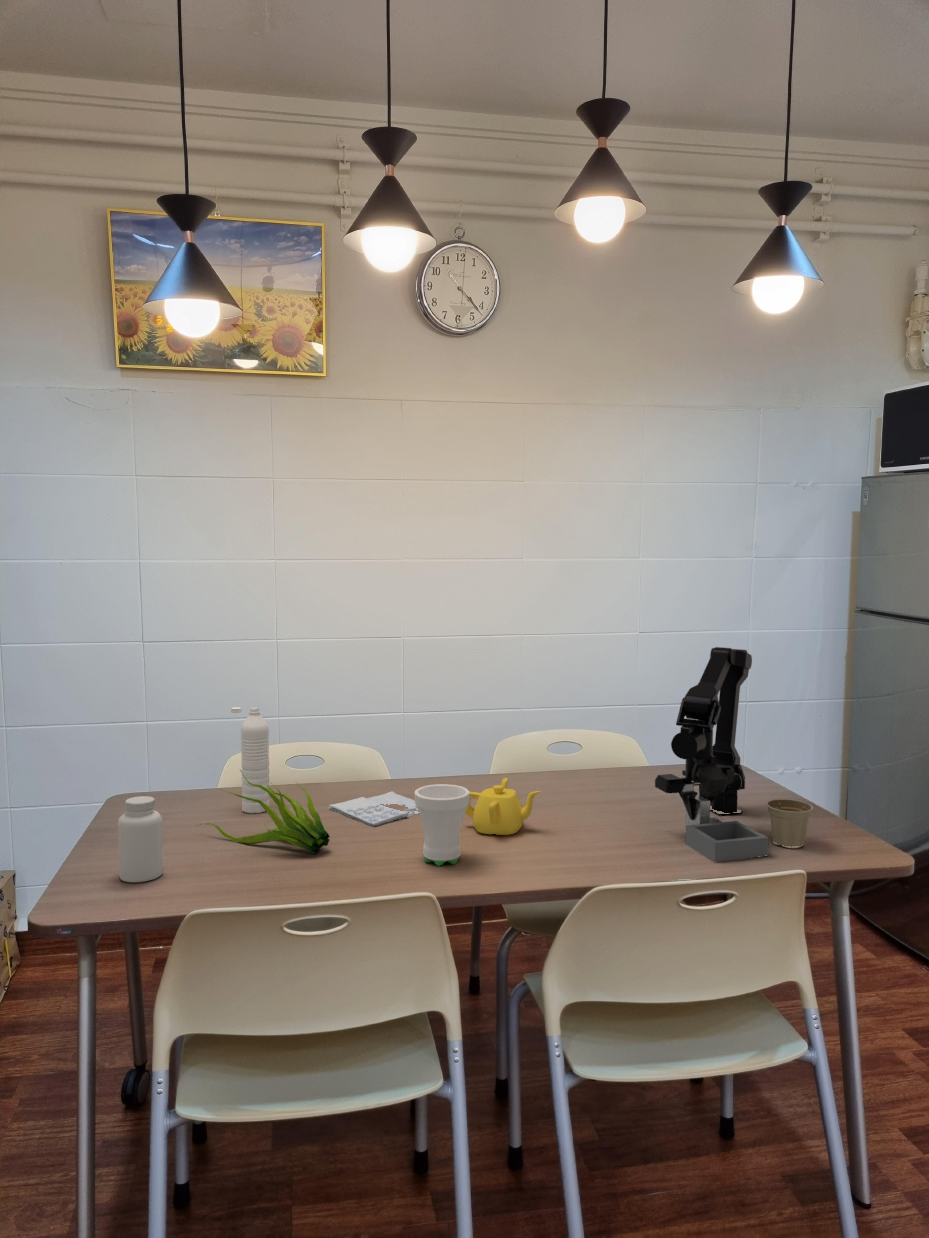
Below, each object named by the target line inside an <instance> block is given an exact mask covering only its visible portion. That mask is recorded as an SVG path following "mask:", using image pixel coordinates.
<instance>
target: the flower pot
mask: <svg viewBox="0 0 929 1238" xmlns="http://www.w3.org/2000/svg"><path fill="white" fill-rule="evenodd" d="M765 806H766V807H767V810H768V811H767V812H769V817H770V825H771V826H770V827H771V833H772V841H774V842H775V843H777V844H779V846H780V845H784V846H791V847H792V846H801V845H803V844H804V845H805V842H806V836H807V829H808V824H809V818H810V816H811V814H812V811H813V810H814V806H813V805H812V804H810V803H808V802H806V801H803V800H798V799H790V798H775V799H774V798H773V799H770V800H767V801H766V803H765ZM774 842H773V843H774Z"/></svg>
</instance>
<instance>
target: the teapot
mask: <svg viewBox="0 0 929 1238" xmlns="http://www.w3.org/2000/svg"><path fill="white" fill-rule="evenodd" d="M469 792H470V796H469V805H468V807H467V808H466V811H465V814H466V815H468V817H470V818H471V819H472V823H473V826H474V828H475V829H476V831H477V832H478V833H480V834H485V835H492V834H496V835H495V836H510V834H511V835H514V834H516V833H517V832H519V830H520V829H521V827H522V826H523V824H524V821H525V820H526V819H528V818H529V816H530V815H531V813H532V809H533V802H534V798H535V796H536V795H537V794H539V793H540V792H541V790H533V791H531V792H529V793H528V795H527V798H526V803H525V806H523V807H522V804H521V801H520V799H519V796H518V794H517V791H516V790H515V789H512V788H508V777H504V778H502V780H501V784H495V785H493V786H492V787H489V788H484V789H483V790H482V791H481V792H478V791H470V790H469ZM472 799H477V801H476V803H475V806H474V807H473V806H471V803H472Z"/></svg>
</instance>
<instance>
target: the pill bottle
mask: <svg viewBox="0 0 929 1238" xmlns="http://www.w3.org/2000/svg"><path fill="white" fill-rule="evenodd" d="M155 802H156V799H155V798H154V797H153V796H148V795H146V796H143V795H142V796H141V795H140V796H134V797H130V798H127V799H126V800H125V801H124V808H125V809H124V813H123V814H122V815H120V817H119V818H118V821H117V841H118V842H117V843H118V845H117V847H118V849H117V850H118V874H119V878H120V881H122V882H126V883H143V882H148V881H152V880H155V879H157V878H159V877H161V876H162V874H163V871H164V858H163V857H164V855H163V852H164V849H163V847H164V846H163V819H162V815H161V814H160V812H158V811H157V810H154V809H155V805H156V803H155Z"/></svg>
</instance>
